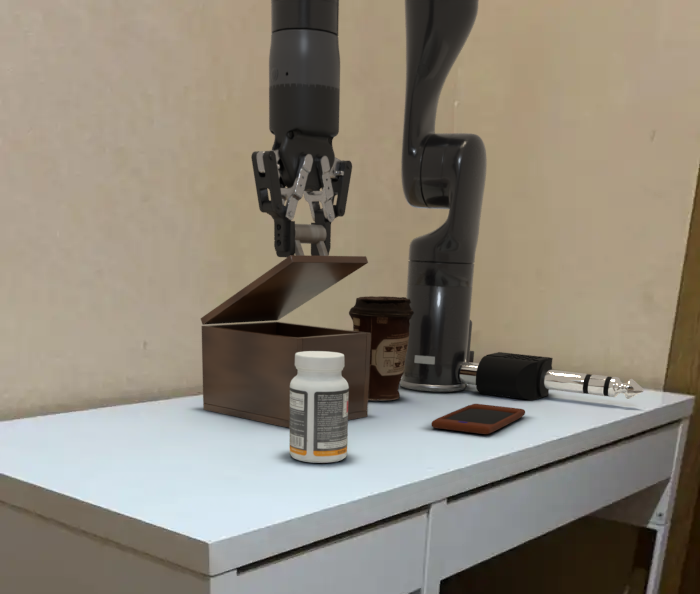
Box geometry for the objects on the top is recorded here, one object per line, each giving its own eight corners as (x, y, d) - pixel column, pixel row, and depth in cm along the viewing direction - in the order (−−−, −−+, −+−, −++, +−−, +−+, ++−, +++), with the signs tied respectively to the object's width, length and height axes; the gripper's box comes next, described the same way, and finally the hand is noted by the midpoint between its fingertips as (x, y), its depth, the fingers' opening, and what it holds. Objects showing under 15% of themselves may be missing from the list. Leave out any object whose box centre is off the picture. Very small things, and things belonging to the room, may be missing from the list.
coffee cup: (420, 398, 128) (427, 298, 123) (390, 406, 121) (395, 300, 116) (366, 391, 132) (370, 294, 127) (334, 398, 125) (337, 295, 120)
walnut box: (367, 416, 114) (371, 332, 110) (296, 429, 105) (297, 338, 101) (275, 399, 123) (276, 321, 119) (203, 409, 114) (201, 325, 110)
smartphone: (430, 419, 107) (472, 402, 120) (429, 428, 108) (472, 409, 120) (489, 427, 104) (526, 408, 117) (488, 435, 105) (525, 416, 117)
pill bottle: (349, 453, 94) (353, 351, 90) (343, 466, 89) (347, 358, 85) (293, 450, 95) (295, 348, 91) (284, 462, 89) (285, 355, 86)
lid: (368, 262, 107) (353, 216, 107) (292, 262, 98) (276, 212, 98) (277, 320, 119) (263, 279, 118) (202, 325, 110) (187, 280, 109)
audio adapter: (489, 348, 140) (657, 365, 128) (485, 384, 142) (650, 405, 130) (458, 354, 131) (635, 373, 120) (455, 393, 133) (628, 415, 122)
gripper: (282, 72, 92) (282, 258, 98) (374, 92, 102) (368, 259, 108) (230, 78, 96) (233, 256, 103) (323, 96, 106) (320, 256, 113)
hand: (303, 256), depth 105 cm, fingers closed on lid, 5 cm apart
